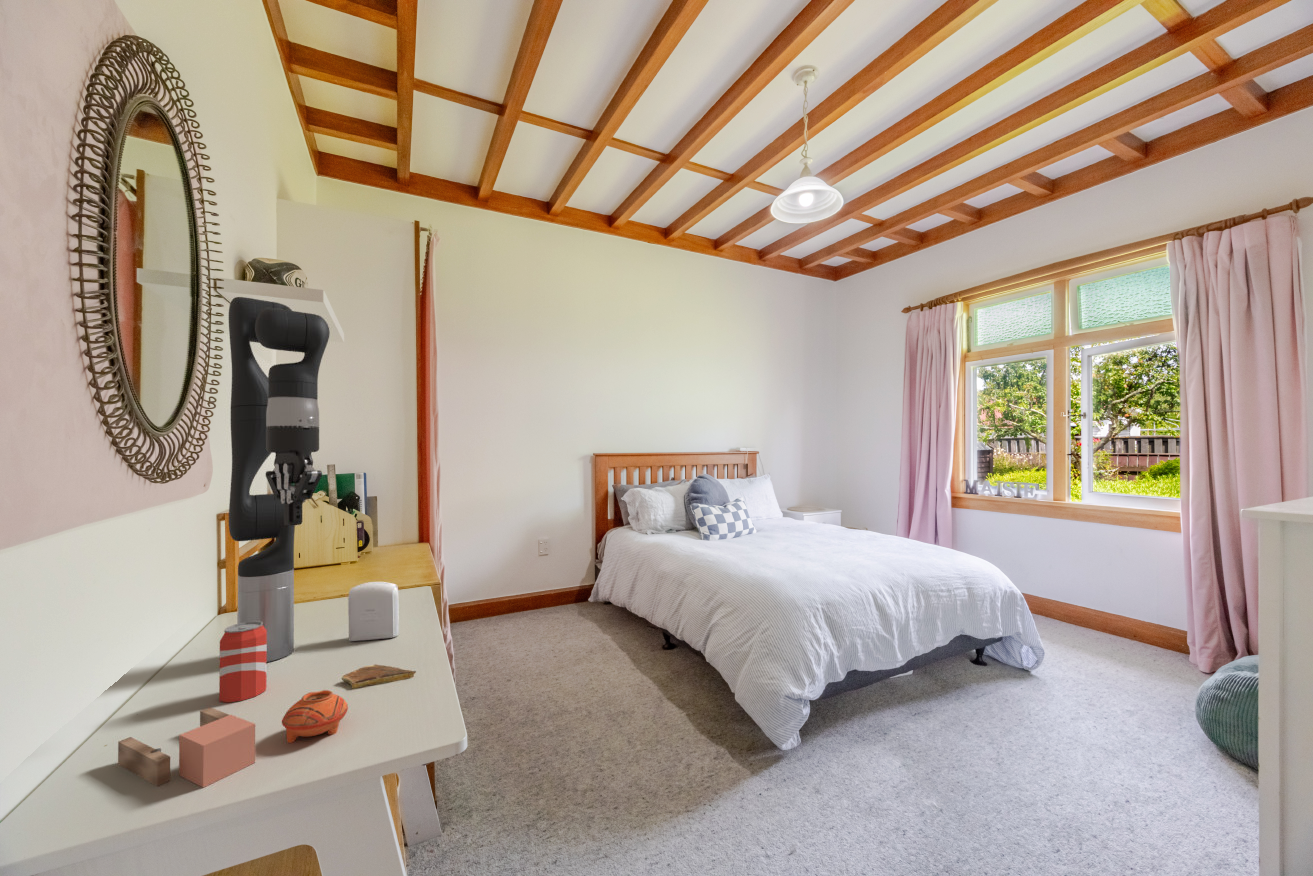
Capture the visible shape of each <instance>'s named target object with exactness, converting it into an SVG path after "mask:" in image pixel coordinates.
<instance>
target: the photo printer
mask: <svg viewBox="0 0 1313 876" xmlns="http://www.w3.org/2000/svg"><path fill="white" fill-rule="evenodd" d="M348 592H349V593H348V597H347V598H348V600H347V602H348V603H347V605H348V606H347V607H348V610H347V611H348V613H347V614H348V640H349V641H350V642H356V641H357V642H359V641H370V640H381V639H382V640H383V639H392V638H396V637H397V636H399V634H400V619H399V617H400V616H399V615H400V613H399V611H400V610H399V609H400V608H399V587H398V584H395V583H393V582H387V581H369V582H364V583H361V584H358V585H355V586H353V587H352V588H350V589H349V591H348ZM349 641H348V642H349Z"/></svg>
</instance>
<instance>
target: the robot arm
mask: <svg viewBox="0 0 1313 876" xmlns="http://www.w3.org/2000/svg"><path fill="white" fill-rule="evenodd" d="M228 333H229V345H230V348H229V349H230V362H231V390H230V391H231V393H230V396H231V397H230V439H231V440H230V441H231V477H230V491H229V503H228V504H229V507H228V531H229V535H230V537H231V539H232V540H233V541H235V542H248V541H257V540H268V539H275V540H274V542H273V543H272V544H271V545H270V546H269V547H267V548H265V549H264V550H262V551H260V552H258V553H256V554H253V555H251V556H248V557H245V558H243V559H241V560H240V561H239V563H238V565H237V613H236V614H237V617H236V620H237V623H236V624H240V623H244V622H254V621H258V622H263V624H262V625H263V626H264V628H265V629H266V630H267V663H269V662H273V661H276V660H279V659H282V658H286V657H287V656H289V655H290V654H291V655H292V653H293V652H294V650H295V647H294V645H295V642H294V641H295V639H294V638H295V582H294V581H295V579H294V577H295V575H294V574H295V566H294V565H295V558H294V557H295V555H294V554H295V553H294V552H295V529H296V526H300V525H302V523H303V504H304V503H305V502H306V501H307V500H311V499H312V497H313V495H314V493H315V491H316V490H317V489H316V488H317V487H318V485H319V483H320V480H321V479H322V477H323V472H322V470H316V469H315V468H314V467H313V465H314V460H313V457H312V456H313V455H312V453H316V452H318V451H320V410H319V409H320V408H319V404H318V403H319V402H318V397H319V396H318V393H319V392H318V383H319V381H318V380H319V372H320V367H321V363H322V360H323V356H324V355H325V354H324V353H325V351H326V348H327V345H328V342H329V339H330V327H329V324H328V322H327V321H326V320H325V318H324V317H322V316H321V315H319V314H315V313H308V312H301V311H296V310H295V311H294V310H292V309H291V308H290V307H289V306H287V305H285V304H283V303H280V302H276V301H268V300H263V299H256V298H253V297H252V298H251V297H243V296H236V297H234V298H233V299H232V300H231V302H230V303H229V309H228ZM251 343H258V344H260V345H261V346H263V347H264V348H266V349H270V350H275V351H283V352H286V351H287V352H294V353H304V356H303V357H302V360H300V361H298V362H297V361H296V362H288V363H286V362H285V363H280V364H279V363H278V364H277V363H276V364H274V365H272V366H271V367H270V368H269V369H268V376H267V374H266V373H265V372H264V370H263V369H262V368H261V366H260V364H259V362H258V361H257V360H256V358H255V355H254V353H253V349H252V345H251ZM272 453H273V454H275V458H274V461H273V466H274V467H273V470H266V471H265V478H266V480H267V482H268V484H269V487H270V489H271V491H272V493H267V494H266V493H265V494H264V493H263V494H250V492H251V491H250V489H251V487H252V483H253V481H254V479H255V477H256V476H257V474H258V473H259V471H260V469H261V468H262V466H263V464H264V463H265V461H266V460H267V459H268V458H269V456H270V455H271V454H272Z"/></svg>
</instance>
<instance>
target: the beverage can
mask: <svg viewBox="0 0 1313 876" xmlns="http://www.w3.org/2000/svg"><path fill="white" fill-rule="evenodd" d="M262 624H263V622H258V621H254V622H244V623H240V624H237V623H236V624H233V625H229V626H227V627H225V628H224V630H223V632H224V633H223V635H222V637H221V638H220V640H219V673H218V674H219V676H218V677H219V678H218V679H219V685H218V686H219V689H218V690H219V691H218V692H219V693H218V695H219V699H218V700H219V702H224V703H235V702H242V701H246V700H248V699H251V698H255V697H257V696H259V695H260V694H262V693H264V692H265V691H266V690H267V677H268V676H267V675H268V674H267V669H268V668H267V667H268V666H267V663H268V662H267V630H266V629H265V628H264V626H263V625H262Z"/></svg>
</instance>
